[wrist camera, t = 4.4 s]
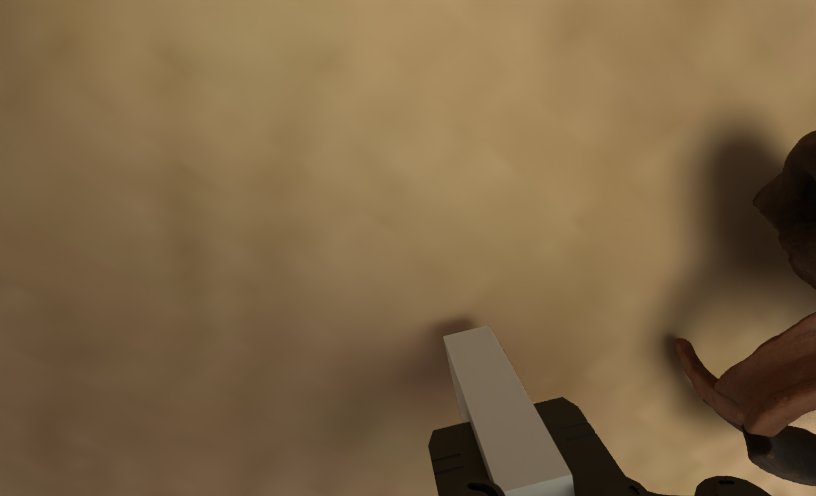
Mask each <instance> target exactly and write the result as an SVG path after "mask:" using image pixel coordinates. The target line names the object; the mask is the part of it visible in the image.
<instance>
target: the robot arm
mask: <svg viewBox="0 0 816 496" xmlns="http://www.w3.org/2000/svg"><path fill="white" fill-rule="evenodd" d="M443 339H444V343H445V348H446V353H447V357H448V362H449V366H450V371H451V376H452V380H453V385H454V389H455V394H456V399H457V403H458V408H459V411H460V414H461V417H462V420H463V423H462V424H458V425H454V426H450V427H446V428H442V429H438V430H434V431H433V433H432V436H431V439H430V442H429V445H428V447H429V452H430V456H431V461H432V466H433V471H434V475H435V480H436V485H437V490H438V495H439V496H677V495H662V494H656V493H653V492H649V491H647V490H646V489H645V488H644V487H643V486H642V485H641V484H640V483H638V482H636V481H634V480H632V479H630V478H628V477H626V476H625V475H624V473H623V472H622V470H621V469H620V468H619V466H618V465H617V463H616V462H615V460H614V459H613V457H612V456H611V454H610V453H609V451H608V450H607V448H606V447H605V446H604V444H603V443H602V441H601V440H600V438H599V437H598V435H597V434H595V431H594V429H593V428H592V427H591V425H590V424H589V423H588V422H587V419H586V418H585V416H584V415H583V413H582V412H581V410H580V409H579V408H578V406H576V405H574V404H573V403H571V402H570V401H568V400H566V399H565V398H563V397H560V398H556V399H552V400H548V401H544V402H540V403H536V404H533V403H532V401H531V399H530V398H529V396H528V394H527V392H526V390H525V389H524V387H523V385H522V383H521V381H520V380H519V378H518V376H517V374H516V372H515V370H514V369H513V367H512V365H511V363H510V361H509V360H508V358H507V356H506V354H505V352H504V351H503V349H502V347H501V345H500V343H499V342H498V340H497V338H496V336H495V334H494V333H493V331H492V329H491V327H490V325H487V326H483V327H479V328H475V329H471V330H467V331H462V332H458V333H454V334H450V335H446V336H443ZM694 496H771V495H770V494H768V493H767V492H766V491H764V490H763V489H761V488H760V487H758V486H756V485H754V484H752V483H750V482H749V481H747V480H744V479H740V478H736V477H732V476H715V477H711V478H708V479H705V480H703V481H702V482H701V483H700V484H699V485H698V486H697V488H696V491H695V495H694Z"/></svg>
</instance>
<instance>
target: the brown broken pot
mask: <svg viewBox="0 0 816 496" xmlns="http://www.w3.org/2000/svg"><path fill="white" fill-rule="evenodd" d="M753 205H754V206H755V207H757V208H758V209H759V211H760V213H761V214H762V215H763V216H764V217H765V218H766V219H767V220H768V221H769V222H770V223H771V224H772V225H773V227H774V228H775V229H776V230H777V231H778V233H779V236H778V239H779V242H780V244H781V246H782V247H783V249H784V250H785V251H786V252H787V254H788V261H789V263H790V265H791V267H792V269H793V271H794V272H795V273H796V274H797V275H798V276H799V277H800V278H801V279H802V280H804V281H805V282H807V283H808V284H810V285H811V286H812V287H813V288H815V289H816V131H813V132H810V133H809V134H807V135H805V136H804V137H802V138H801V139H800V140H799V141H798V143H797V144H796V145H795V146H794V148H793V149H792V150H791V152H790V153H789V155H788V157H787V159H786V161H785V165H784V168H783V171H782V173H781V174H780V175H779V176H777V177H776V178H775V179H773V180H772V181H770V182H769V183H768V184H767V185H765V186H764V187H763V188H762V189H761V190H760V192H759V193H758V194H757V195H756V196H755V198H754V199H753ZM675 347H676V351H677V353H678V356H679V358H680V360H681V362H682V366H683V368H684V371H685V372H686V374H687V376H688V377H689V379H690V380H691V382H692V384H693V386H694V388H695V390H696V391H697V393H698V394H699V395H700V396H701V397H702V398H703V400H704V402H705V403H707V404H708V405H709V406H710V407H712V408H713V409H714V410H715V411H716V413H717V414H719V415H720V416H721V417H722V418H723V419H724V420H726V421H727V422H728V423H730V424H731V425H732V426H734V427H735V428H737V429H738V430H740V431H741V432H743V435H744V438H745V441H746V446H747V451H748V457H749V459H750V460H751V462H752V463H754V464H755V465H757V466H759V468H761V469H763V470H765V471H766V472H768V473H771V474H774V475H775V476H777V477H780V478H782V479H786V480H789V481H792V482H796V483H799V484H804V485H809V486H816V434H813V433H811V432H810V431H808V430H806V429H803V428H798V427H792V426H787V425H788V424H790V423H791V422H793V421H795V420H796V419H798V418H799V417H800V416H802V415H803V414H805V413H808V412H810V411H814V410H816V312H815V313H813V314H811V315H808V316H807V317H805V318H803V319H802V320H801V321H799V322H798V323H797V324H795V325H793V326H792V327H790V328H789V329H787V330H786V331H784V332H783V333H781V334H780V335H778V336H775V337H772V338H771V339H769V340H767V341H766V342H764V343H763V344H761V345H760V346H759V347H758V348H757V349H756V350H755V351H754V352H753V354H752V355H750V356H749V357H747V358H746V359H745V360H743V361H741V362H739V363H737V364H736V365H734V366H732V367H731V368H730V369H728V370H727V371H726V372H725V373H724V374H723V375H721V377H720V378H719V379H718V378H716V377H715V376H714V375H712V374H711V373H710V372H709V371H708V370H707V369H706V368H705V367H704V365H703V364H702V362H701V361H700V360H699V358H698V357H697V355H696V353H695V351H694V349H693V346H692V345H691V343H690V342H689V341H687V340H686V339H683V338H677V339H676V340H675Z"/></svg>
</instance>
